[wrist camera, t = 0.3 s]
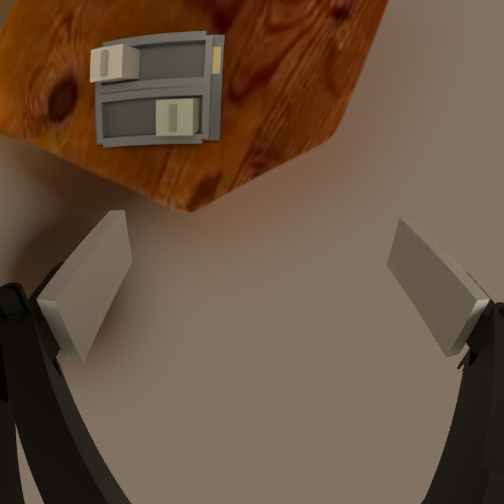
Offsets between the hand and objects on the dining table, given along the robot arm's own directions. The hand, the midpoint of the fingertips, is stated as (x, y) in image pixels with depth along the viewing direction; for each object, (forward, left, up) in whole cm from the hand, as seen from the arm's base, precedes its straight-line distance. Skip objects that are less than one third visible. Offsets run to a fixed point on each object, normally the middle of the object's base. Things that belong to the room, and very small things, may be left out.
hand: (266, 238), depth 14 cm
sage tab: (-4, -8, -26) cm, 27 cm away
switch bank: (-7, -12, -27) cm, 31 cm away
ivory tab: (-11, -16, -26) cm, 32 cm away
